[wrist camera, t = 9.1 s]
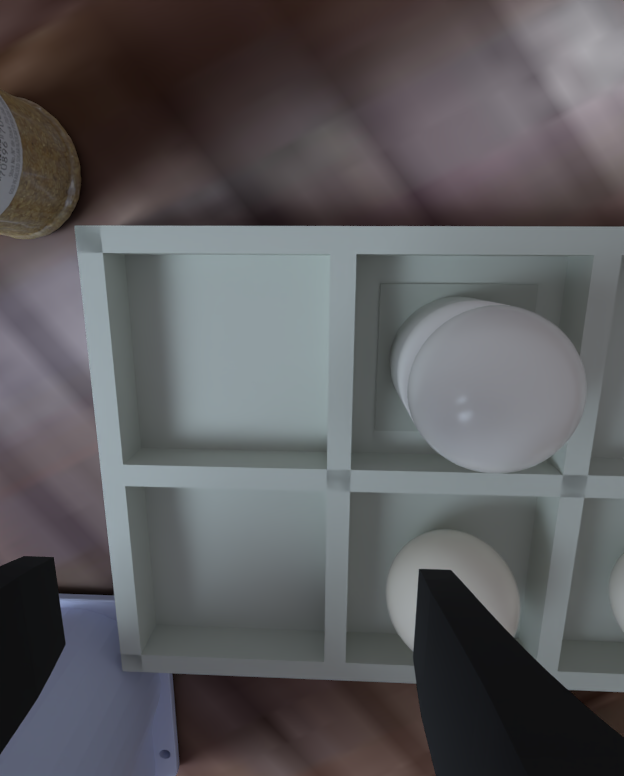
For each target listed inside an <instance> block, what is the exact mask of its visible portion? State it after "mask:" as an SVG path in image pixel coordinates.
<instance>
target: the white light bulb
mask: <svg viewBox="0 0 624 776" xmlns="http://www.w3.org/2000/svg"><path fill="white" fill-rule="evenodd" d="M389 369H390V375H391V379H392V382H393V385H394V387H395V389H396V391H397V393H398V395H399V397H400V399H401V400H402V402H403V404H404V406H405V408H406V410H407V411H408V413H409V415H410V417H411V419H412V421H413V422H414V424H415V426H416V428H417V429H418V431H419V433H420V434H421V436H422V437H423V438H424V439H425V441H426V442H427V443H428V444H429V445H430V446H431V447H432V448H433V449H434V450H435V451H436V452H437V453H439V454H440V455H441V456H443V457H444V458H446V459H447V460H449V461H451V462H453V463H455V464H457V465H459V466H461V467H464V468H467V469H470V470H474V471H479V472H483V473H509V472H515V471H520V470H524V469H527V468H530V467H532V466H535V465H537V464H539V463H541V462H543V461H545V460H546V459H548V458H549V457H551V456H552V455H554V454H555V453H556V452H557V451H558V450H559V449H561V448H562V447H563V446H564V445H565V443H566V442H567V441H568V440H569V439H570V438H571V436H572V435H573V433H574V432H575V430H576V428H577V426H578V425H579V423H580V420H581V418H582V415H583V412H584V408H585V404H586V396H587V384H586V375H585V369H584V366H583V363H582V360H581V358H580V356H579V354H578V352H577V350H576V348H575V347H574V345H573V343H572V342H571V341H570V339H569V338H568V337H567V336H566V335H565V334H564V333H563V332H562V331H561V330H560V329H559V328H558V327H557V326H556V325H554V324H553V323H552V322H550V321H549V320H548V319H546V318H544V317H542V316H541V315H539V314H537V313H534V312H531V311H529V310H526V309H523V308H519V307H515V306H510V305H505V304H500V303H495V302H490V301H485V300H480V299H475V298H470V297H462V296H453V297H445V298H441V299H437V300H434V301H432V302H430V303H427V304H425V305H424V306H422V307H420V308H419V309H417V310H416V311H415V312H414V313H412V314H411V315H410V316H409V317H408V318H407V319H406V320H405V321H404V323H403V324H402V326H401V327H400V328H399V330H398V332H397V334H396V335H395V338H394V340H393V343H392V347H391V350H390V358H389Z"/></svg>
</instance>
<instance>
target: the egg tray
mask: <svg viewBox="0 0 624 776" xmlns="http://www.w3.org/2000/svg"><path fill="white" fill-rule="evenodd" d="M74 227H75V236H76V245H77V254H78V264H79V273H80V282H81V291H82V301H83V310H84V319H85V328H86V338H87V347H88V356H89V365H90V375H91V384H92V393H93V402H94V412H95V421H96V430H97V439H98V449H99V458H100V467H101V476H102V486H103V495H104V504H105V514H106V523H107V532H108V541H109V551H110V560H111V569H112V578H113V588H114V597H115V606H116V615H117V625H118V634H119V643H120V652H121V662H122V671H127V672H151V673H175V674H199V675H223V676H247V677H271V678H295V679H319V680H343V681H367V682H391V683H415V684H416V677H415V670H414V662H413V651H412V650H411V649H410V648H409V647H408V646H407V645H406V644H405V643H404V642H403V640H402V639H401V637H400V636H399V635H398V633H397V631H396V629H395V628H394V626H393V623H392V621H391V619H390V616H389V612H388V608H387V603H386V582H387V576H388V572H389V569H390V567H391V564H392V562H393V560H394V558H395V557H396V555H397V554H398V552H399V551H400V550H401V549H402V548H403V546H404V545H406V544H407V543H408V542H409V541H410V540H412V539H413V538H415V537H417V536H418V535H421V534H423V533H426V532H429V531H433V530H439V529H451V530H458V531H462V532H466V533H469V534H472V535H474V536H476V537H478V538H479V539H481V540H483V541H484V542H486V543H487V544H489V545H490V546H491V547H492V548H493V549H494V550H495V551H497V552H498V553H499V555H500V556H501V557H502V558H503V559H504V561H505V562H506V564H507V565H508V567H509V568H510V570H511V572H512V574H513V576H514V579H515V581H516V584H517V588H518V591H519V596H520V619H519V624H518V628H517V631H516V634H515V636H514V638H515V639H516V640H517V641H518V642H519V643H520V644H521V645H522V646H523V648H524V649H525V650H526V651H527V652H528V653H529V654H530V655H531V656H532V657H533V658H534V659H536V660H537V661H538V662H539V663H540V664H541V665H542V666H543V667H544V668H545V669H546V670H547V671H548V672H549V673H550V674H551V675H552V676H553V677H555V678H556V679H557V680H558V681H559V682H560V683H561V684H562V685H563V686H564V687H565V688H566V689H568V690H583V691H607V692H624V633H623V632H622V630H621V629H620V627H619V625H618V624H617V622H616V619H615V617H614V615H613V612H612V609H611V606H610V602H609V593H608V584H609V578H610V574H611V571H612V568H613V566H614V564H615V563H616V561H617V560H618V558H619V557H620V556H621V555H622V554H623V553H624V227H584V226H74ZM453 296H462V297H470V298H475V299H480V300H485V301H490V302H495V303H500V304H505V305H510V306H515V307H519V308H523V309H526V310H529V311H531V312H534V313H537V314H539V315H541V316H542V317H544V318H546V319H548V320H549V321H550V322H552V323H553V324H554V325H556V326H557V327H558V328H559V329H560V330H561V331H562V332H563V333H564V334H565V335H566V336H567V337H568V338H569V339H570V341H571V342H572V343H573V345H574V347H575V348H576V350H577V352H578V354H579V356H580V358H581V360H582V363H583V366H584V369H585V375H586V384H587V396H586V404H585V408H584V412H583V415H582V418H581V420H580V423H579V425H578V426H577V428H576V430H575V432H574V433H573V435H572V436H571V438H570V439H569V440H568V441H567V442H566V443H565V445H564V446H563V447H562V448H561V449H559V450H558V451H557V452H556V453H555V454H554V455H552V456H551V457H549V458H548V459H546V460H545V461H543V462H541V463H539V464H537V465H535V466H532V467H530V468H527V469H524V470H520V471H515V472H509V473H483V472H479V471H474V470H470V469H467V468H464V467H461V466H459V465H457V464H455V463H453V462H451V461H449V460H447V459H446V458H444V457H443V456H441V455H440V454H439V453H437V452H436V451H435V450H434V449H433V448H432V447H431V446H430V445H429V444H428V443H427V442H426V441H425V439H424V438H423V437H422V436H421V434H420V433H419V431H418V429H417V428H416V426H415V424H414V422H413V421H412V419H411V417H410V415H409V413H408V411H407V410H406V408H405V406H404V404H403V402H402V400H401V399H400V397H399V395H398V393H397V391H396V389H395V387H394V385H393V382H392V379H391V375H390V369H389V358H390V350H391V347H392V343H393V340H394V338H395V335H396V334H397V332H398V330H399V328H400V327H401V326H402V324H403V323H404V321H405V320H406V319H407V318H408V317H409V316H410V315H411V314H412V313H414V312H415V311H416V310H417V309H419V308H420V307H422V306H424V305H425V304H427V303H430V302H432V301H434V300H437V299H441V298H445V297H453Z"/></svg>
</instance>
